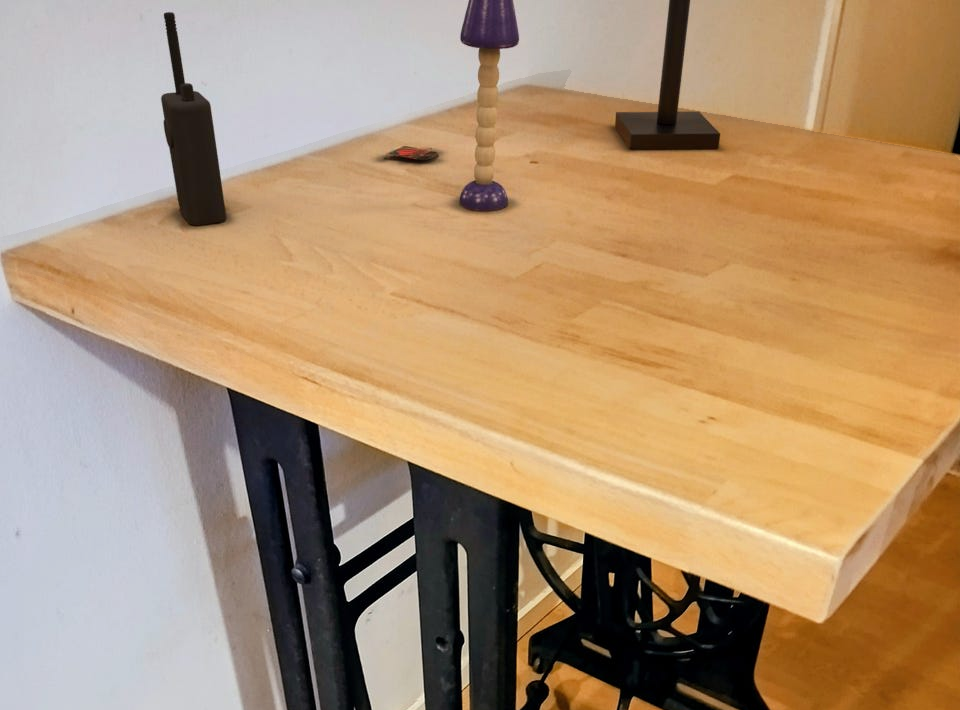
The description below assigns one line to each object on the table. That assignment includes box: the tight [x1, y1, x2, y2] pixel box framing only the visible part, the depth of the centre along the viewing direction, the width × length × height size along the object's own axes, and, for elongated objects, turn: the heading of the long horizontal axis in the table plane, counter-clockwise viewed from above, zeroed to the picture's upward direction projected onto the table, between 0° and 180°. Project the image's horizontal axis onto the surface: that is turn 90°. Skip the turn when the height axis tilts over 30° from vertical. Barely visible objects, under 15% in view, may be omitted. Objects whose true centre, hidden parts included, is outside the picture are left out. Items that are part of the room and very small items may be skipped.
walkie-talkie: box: [160, 11, 227, 226], centre depth 81 cm, size 5×3×15 cm
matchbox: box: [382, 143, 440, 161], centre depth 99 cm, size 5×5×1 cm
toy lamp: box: [458, 0, 520, 212], centre depth 83 cm, size 5×5×17 cm
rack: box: [614, 0, 721, 151], centre depth 102 cm, size 9×9×14 cm
